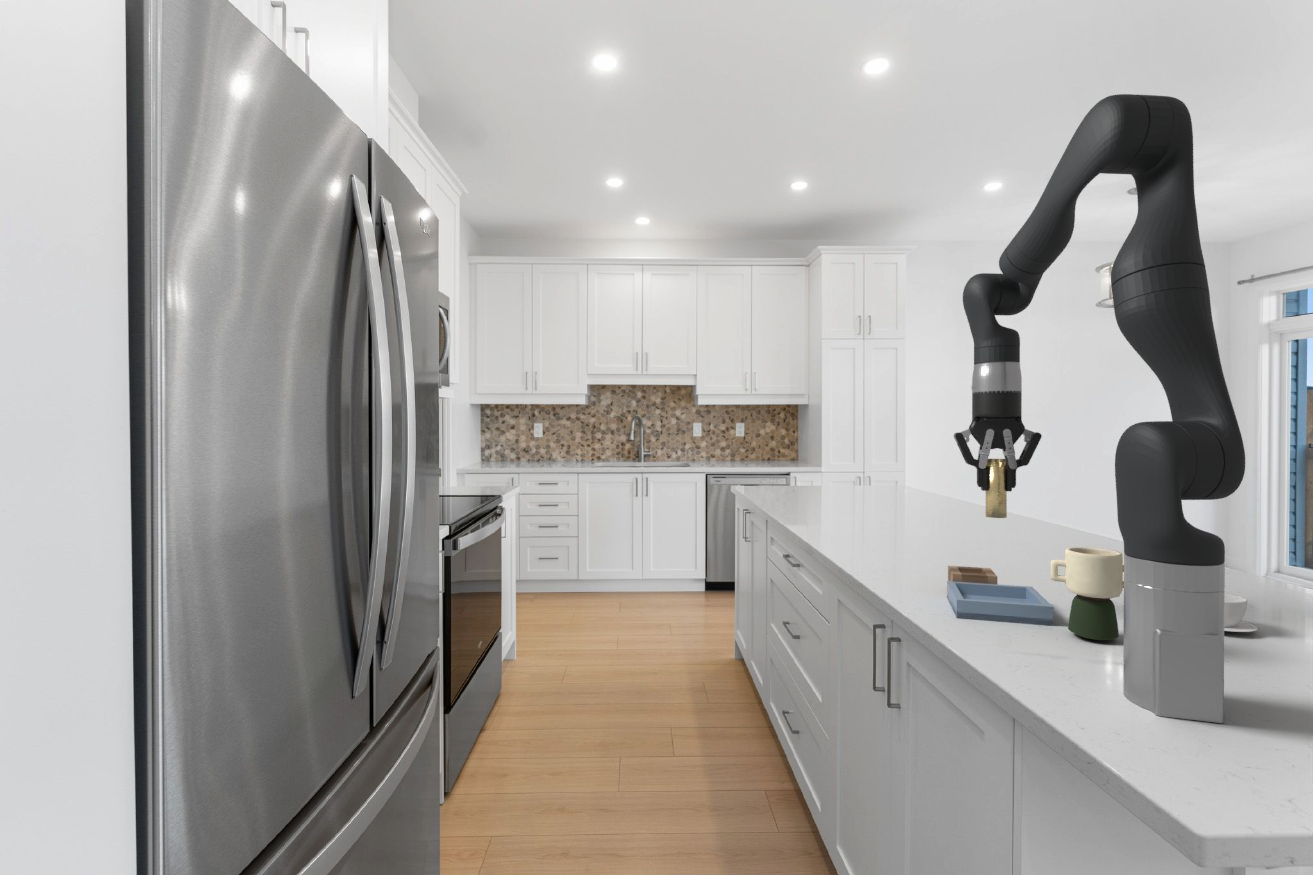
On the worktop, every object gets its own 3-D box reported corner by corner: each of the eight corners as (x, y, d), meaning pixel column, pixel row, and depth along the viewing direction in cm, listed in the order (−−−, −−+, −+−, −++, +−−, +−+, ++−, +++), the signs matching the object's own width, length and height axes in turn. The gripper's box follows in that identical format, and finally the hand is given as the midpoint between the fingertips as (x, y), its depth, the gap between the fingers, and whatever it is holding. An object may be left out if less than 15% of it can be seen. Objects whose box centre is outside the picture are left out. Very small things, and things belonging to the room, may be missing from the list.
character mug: (1135, 637, 97) (1135, 550, 96) (1141, 651, 90) (1142, 558, 90) (1049, 626, 102) (1050, 544, 102) (1050, 638, 96) (1050, 551, 96)
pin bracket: (997, 597, 119) (997, 576, 119) (952, 594, 122) (952, 573, 122) (990, 588, 126) (990, 568, 126) (947, 585, 129) (947, 565, 129)
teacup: (1262, 639, 96) (1262, 607, 96) (1176, 627, 102) (1176, 597, 102) (1253, 623, 104) (1253, 594, 104) (1174, 612, 110) (1174, 585, 110)
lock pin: (1008, 518, 109) (1007, 459, 109) (986, 517, 110) (986, 458, 110) (1005, 516, 112) (1005, 458, 112) (984, 515, 113) (984, 458, 113)
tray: (1053, 625, 102) (1053, 606, 102) (956, 617, 107) (956, 599, 107) (1032, 603, 116) (1032, 586, 116) (946, 597, 120) (946, 581, 120)
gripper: (954, 390, 109) (954, 491, 110) (1048, 388, 105) (1048, 493, 105) (949, 392, 116) (949, 487, 117) (1037, 390, 112) (1037, 489, 112)
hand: (996, 490), depth 111 cm, fingers closed on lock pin, 3 cm apart
